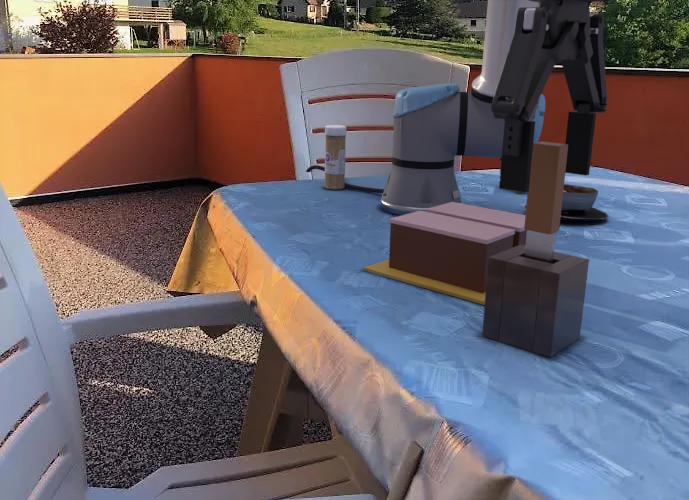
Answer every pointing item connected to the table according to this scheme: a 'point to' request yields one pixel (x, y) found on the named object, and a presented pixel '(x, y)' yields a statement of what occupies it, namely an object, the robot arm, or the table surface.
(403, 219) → the cake
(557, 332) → the knife block
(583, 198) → the soup bowl
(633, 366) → the table surface
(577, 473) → the table surface
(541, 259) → the knife
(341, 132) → the sprinkles bottle
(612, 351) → the table surface
